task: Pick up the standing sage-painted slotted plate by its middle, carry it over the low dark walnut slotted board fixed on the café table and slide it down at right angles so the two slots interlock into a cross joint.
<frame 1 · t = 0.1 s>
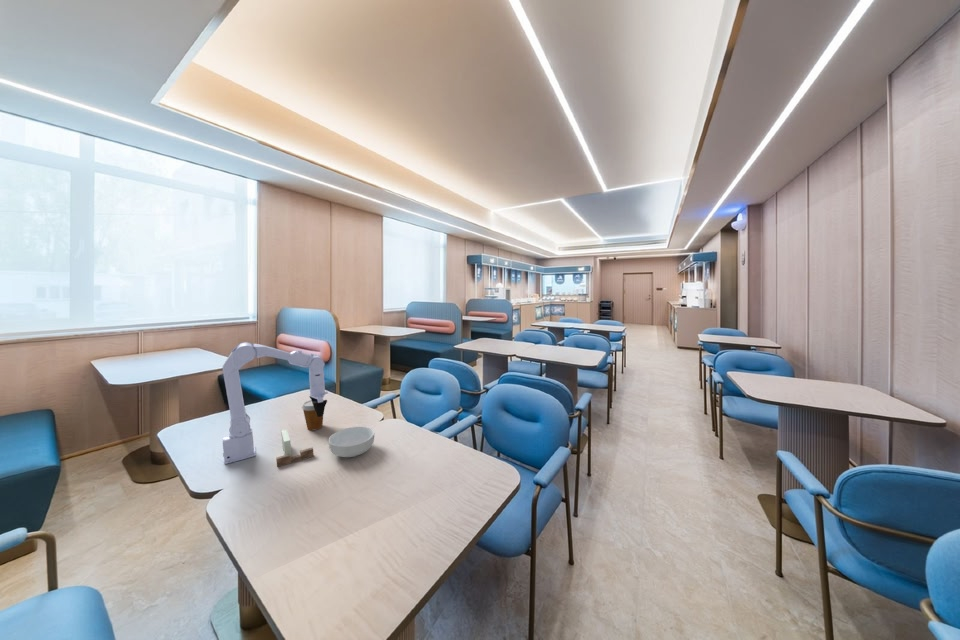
hand: (319, 413, 138), 10 cm above the table, tool pointing down, fingers open, 7 cm apart
walnut slot board: (295, 460, 119), on the table
sage slot plate: (286, 451, 125), on the table
cereal bowl: (353, 452, 125), on the table
disposable coffee cup: (315, 427, 147), on the table
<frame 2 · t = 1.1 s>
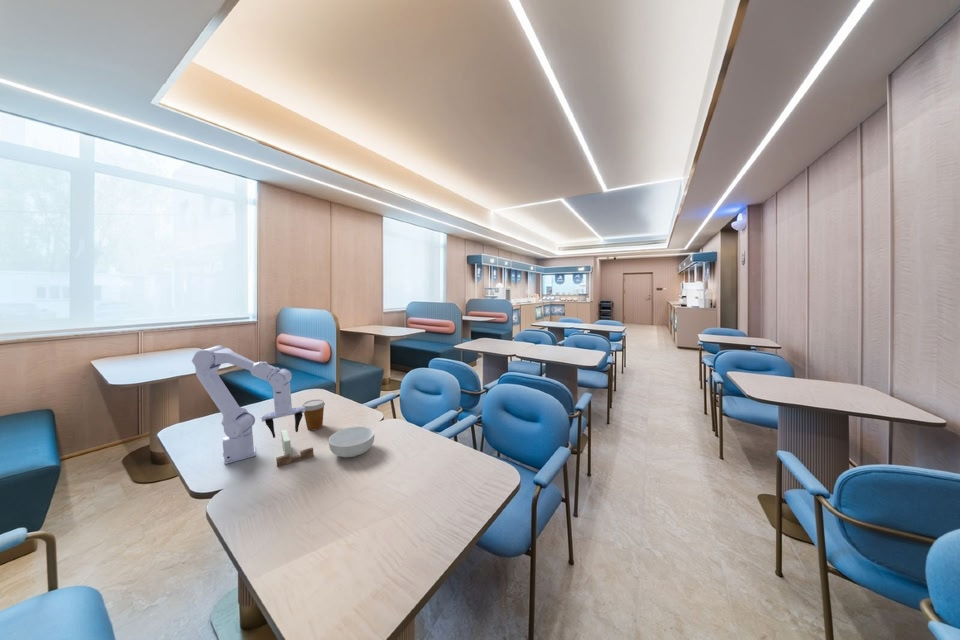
hand: (285, 433, 125), 8 cm above the table, tool pointing down, fingers open, 7 cm apart
nothing on the table moved.
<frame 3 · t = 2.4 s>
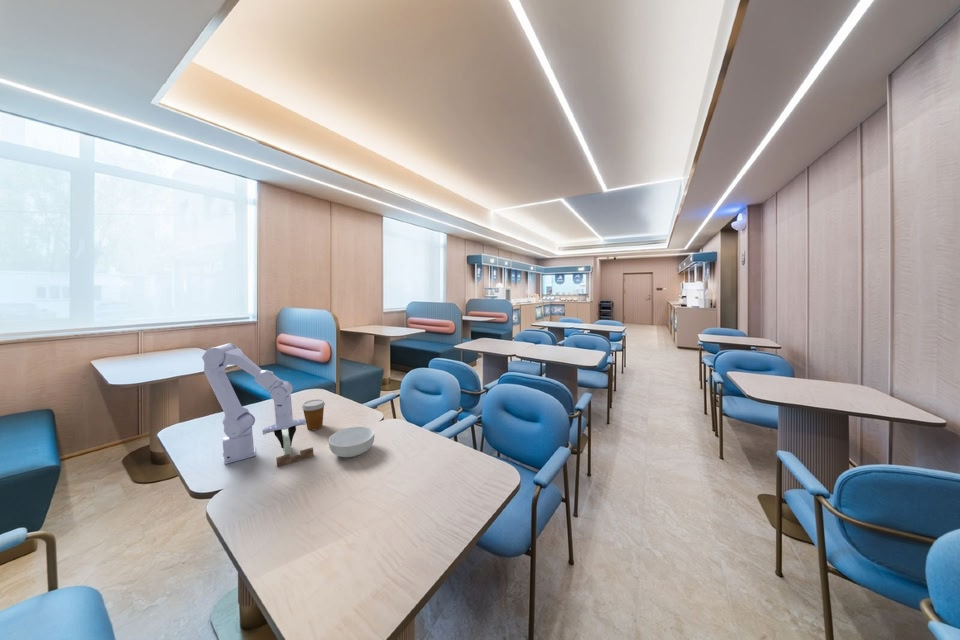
hand: (286, 446, 125), 2 cm above the table, tool pointing down, fingers closed on sage slot plate, 2 cm apart
sage slot plate: (286, 451, 125), on the table, touching gripper
everything else where it was.
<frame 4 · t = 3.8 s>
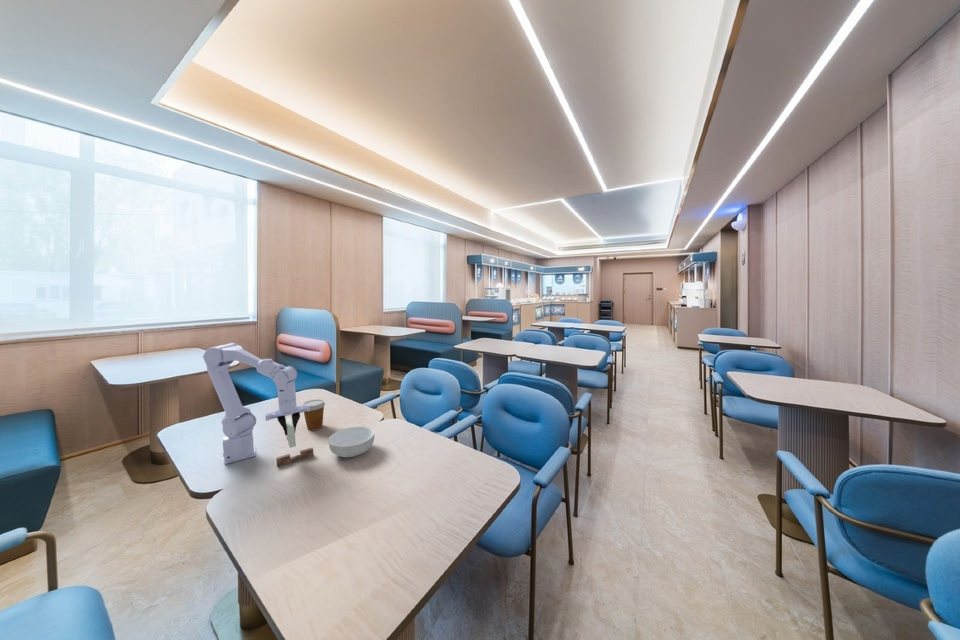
hand: (290, 433, 121), 9 cm above the table, tool pointing down, fingers closed on sage slot plate
sage slot plate: (290, 441, 121), point 6 cm above the table, touching gripper
everything else where it was.
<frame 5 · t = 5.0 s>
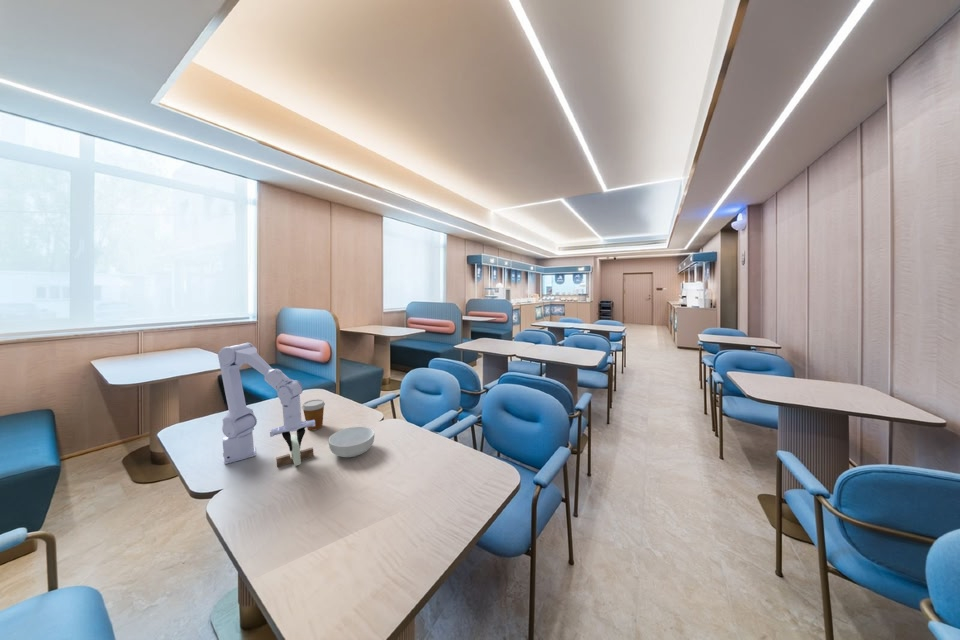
hand: (294, 448, 118), 5 cm above the table, tool pointing down, fingers closed on sage slot plate, 2 cm apart
sage slot plate: (295, 458, 119), point 1 cm above the table, touching gripper
everything else where it was.
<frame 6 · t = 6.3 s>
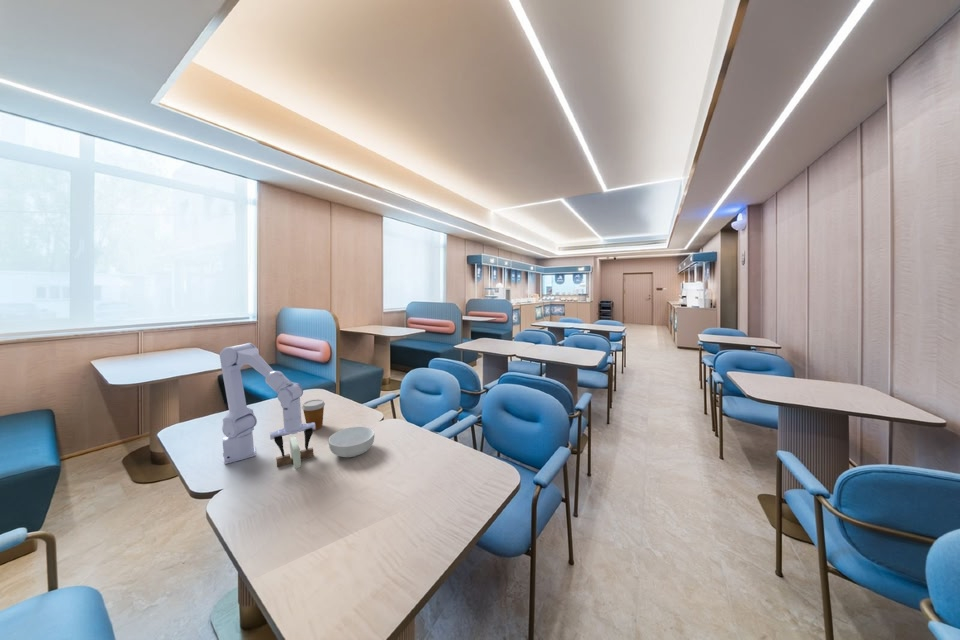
hand: (295, 451, 119), 4 cm above the table, tool pointing down, fingers open, 7 cm apart
sage slot plate: (295, 460, 119), on the table
everything else where it was.
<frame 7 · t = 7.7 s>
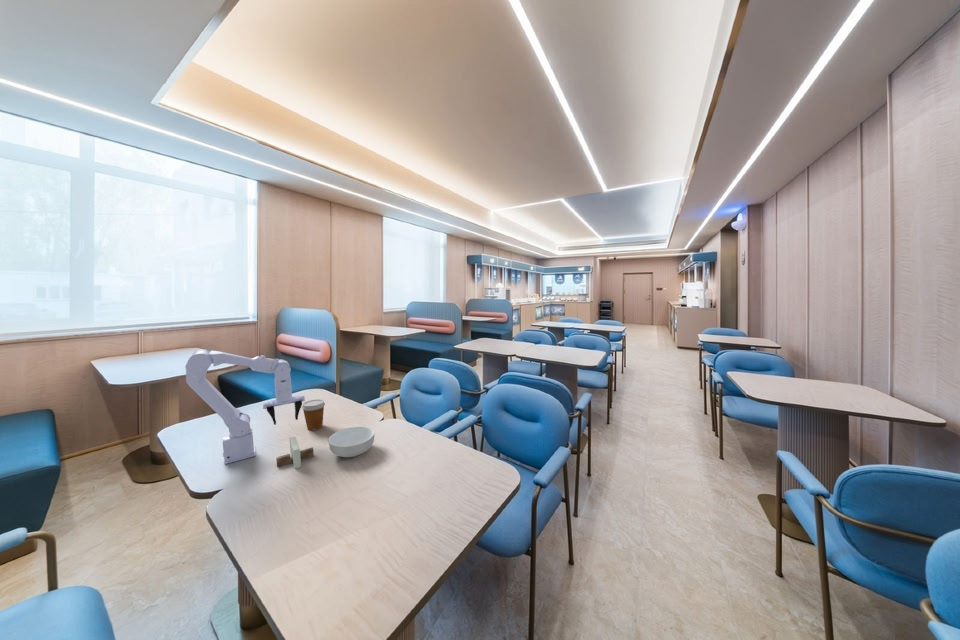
hand: (285, 421, 131), 10 cm above the table, tool pointing down, fingers open, 7 cm apart
nothing on the table moved.
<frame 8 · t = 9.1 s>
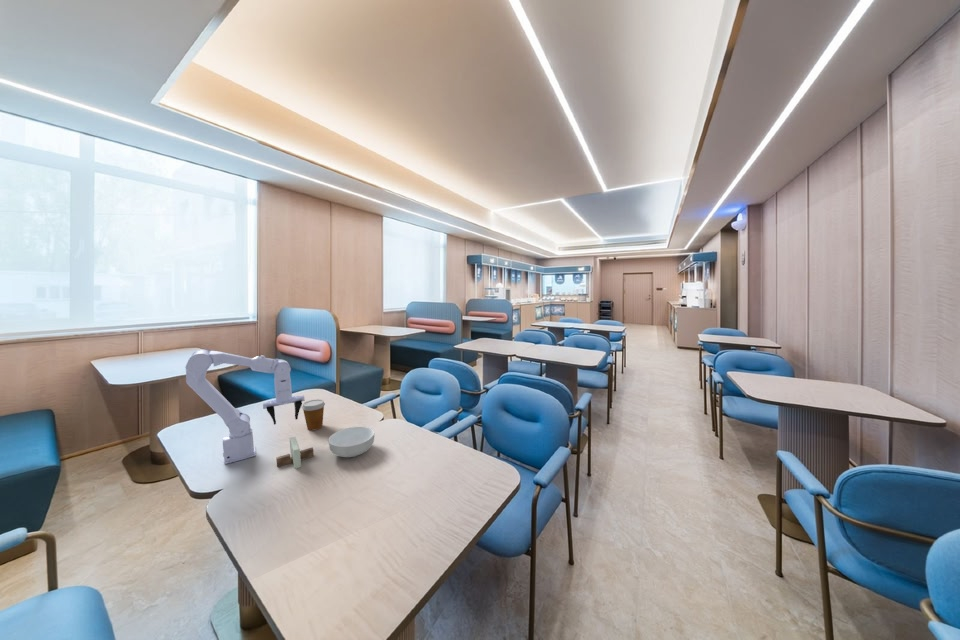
hand: (285, 421, 131), 10 cm above the table, tool pointing down, fingers open, 7 cm apart
nothing on the table moved.
at the end: sage slot plate 0.1 cm off-centre on the walnut slot board, point 0.0 cm above the walnut slot board's base; sage slot plate tilted 0°; the gripper is holding nothing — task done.
